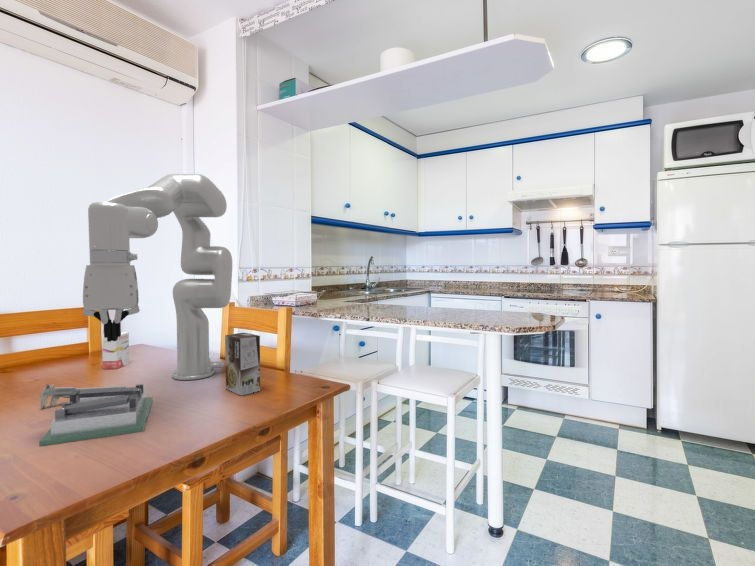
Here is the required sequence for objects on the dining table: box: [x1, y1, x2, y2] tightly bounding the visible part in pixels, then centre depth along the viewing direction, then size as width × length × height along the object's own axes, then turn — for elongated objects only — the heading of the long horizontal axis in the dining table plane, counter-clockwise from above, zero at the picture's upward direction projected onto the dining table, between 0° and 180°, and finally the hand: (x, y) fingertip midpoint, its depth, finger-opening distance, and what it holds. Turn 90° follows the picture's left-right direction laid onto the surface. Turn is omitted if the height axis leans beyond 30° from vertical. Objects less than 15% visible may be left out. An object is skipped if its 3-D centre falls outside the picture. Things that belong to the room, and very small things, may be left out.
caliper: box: [40, 383, 127, 410], centre depth 109 cm, size 20×1×6 cm, turn 144°
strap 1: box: [60, 396, 129, 414], centre depth 90 cm, size 13×3×1 cm, turn 114°
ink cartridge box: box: [101, 326, 130, 370], centre depth 144 cm, size 9×5×15 cm, turn 6°
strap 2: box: [78, 386, 142, 398], centre depth 98 cm, size 13×3×1 cm, turn 115°
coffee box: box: [224, 332, 261, 397], centre depth 117 cm, size 9×6×16 cm
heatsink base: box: [38, 383, 154, 447], centre depth 94 cm, size 18×22×6 cm
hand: (112, 340), depth 91 cm, fingers closed
